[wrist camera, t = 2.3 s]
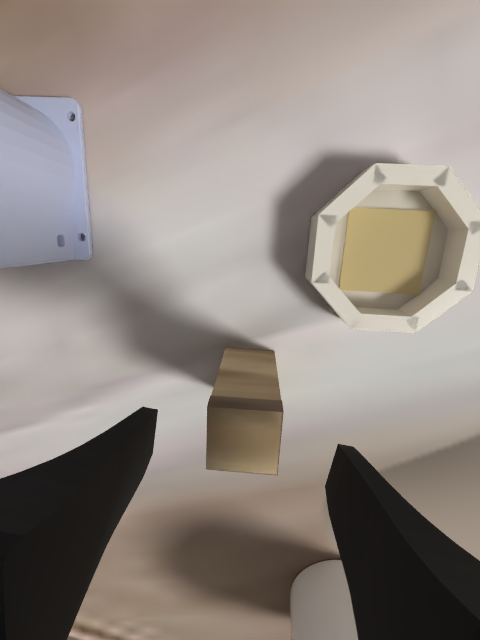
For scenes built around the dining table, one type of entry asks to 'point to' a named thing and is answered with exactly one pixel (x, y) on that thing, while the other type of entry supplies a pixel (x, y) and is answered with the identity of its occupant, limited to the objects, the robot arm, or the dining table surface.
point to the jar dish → (395, 247)
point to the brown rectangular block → (245, 414)
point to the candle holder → (322, 604)
